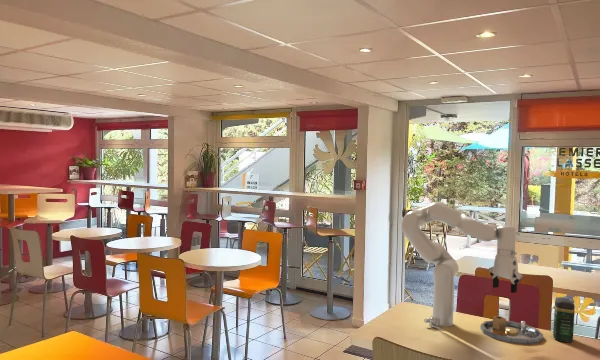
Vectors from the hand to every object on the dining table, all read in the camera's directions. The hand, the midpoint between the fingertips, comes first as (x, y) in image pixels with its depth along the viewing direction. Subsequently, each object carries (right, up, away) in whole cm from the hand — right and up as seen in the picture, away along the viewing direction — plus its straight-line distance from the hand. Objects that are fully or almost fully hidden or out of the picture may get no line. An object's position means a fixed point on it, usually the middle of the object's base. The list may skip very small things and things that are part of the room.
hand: (504, 289), depth 212 cm
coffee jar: (+28, -23, +1) cm, 36 cm away
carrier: (+4, -22, +2) cm, 23 cm away
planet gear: (-3, -21, -1) cm, 21 cm away
